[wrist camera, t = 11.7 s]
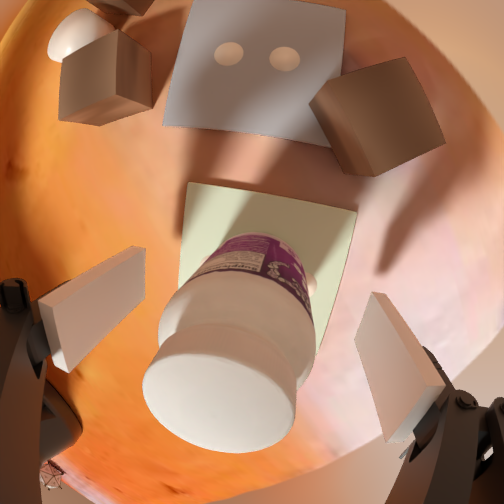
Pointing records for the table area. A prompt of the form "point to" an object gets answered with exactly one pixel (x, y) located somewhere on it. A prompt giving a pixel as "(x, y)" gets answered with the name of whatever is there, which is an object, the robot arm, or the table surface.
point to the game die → (50, 476)
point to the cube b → (123, 6)
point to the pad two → (255, 67)
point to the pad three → (274, 223)
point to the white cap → (77, 33)
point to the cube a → (105, 81)
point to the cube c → (376, 118)
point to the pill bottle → (234, 347)
